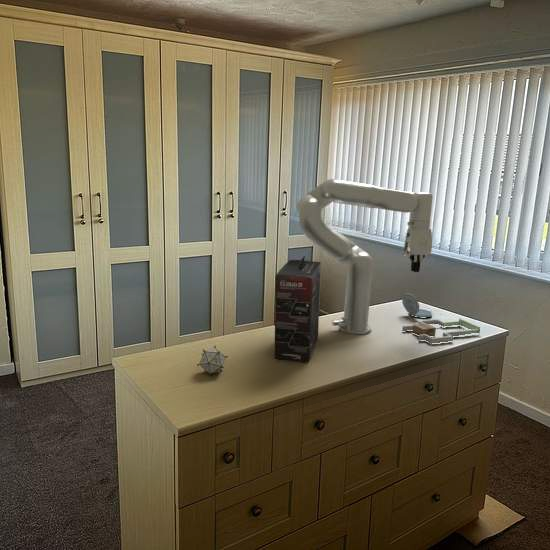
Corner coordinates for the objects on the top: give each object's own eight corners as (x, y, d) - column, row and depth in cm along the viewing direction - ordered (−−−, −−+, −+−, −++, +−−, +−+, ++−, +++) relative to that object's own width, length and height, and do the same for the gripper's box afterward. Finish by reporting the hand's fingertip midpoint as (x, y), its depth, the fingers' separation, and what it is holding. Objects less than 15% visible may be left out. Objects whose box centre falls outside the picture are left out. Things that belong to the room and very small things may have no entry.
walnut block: (422, 339, 196) (423, 329, 195) (412, 334, 202) (413, 324, 201) (434, 337, 198) (435, 327, 198) (424, 332, 204) (425, 323, 203)
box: (426, 345, 189) (427, 336, 188) (396, 328, 207) (396, 320, 206) (486, 339, 198) (488, 330, 198) (453, 323, 216) (454, 315, 216)
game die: (211, 381, 161) (216, 350, 165) (229, 379, 156) (234, 347, 160) (189, 373, 156) (195, 342, 160) (207, 372, 150) (213, 339, 154)
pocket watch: (400, 290, 224) (425, 287, 231) (398, 314, 226) (423, 310, 234) (418, 296, 215) (442, 292, 223) (415, 321, 218) (440, 316, 225)
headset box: (309, 364, 168) (314, 265, 160) (271, 360, 170) (275, 262, 163) (318, 339, 191) (323, 252, 184) (285, 336, 194) (288, 250, 186)
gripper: (409, 226, 190) (404, 274, 194) (441, 225, 196) (436, 272, 200) (397, 223, 197) (393, 270, 201) (429, 223, 203) (424, 268, 207)
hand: (415, 271), depth 201 cm, fingers closed
